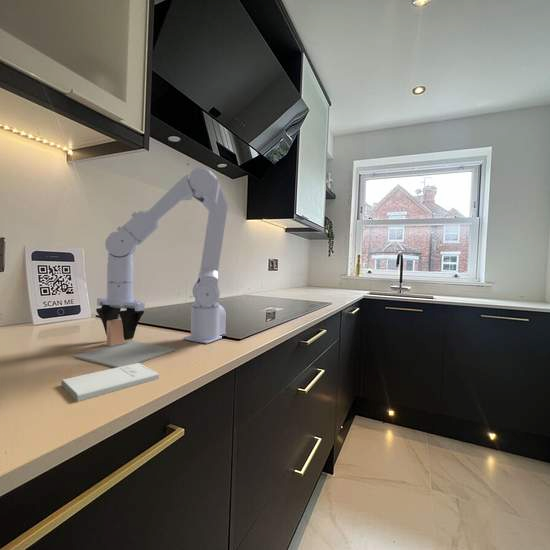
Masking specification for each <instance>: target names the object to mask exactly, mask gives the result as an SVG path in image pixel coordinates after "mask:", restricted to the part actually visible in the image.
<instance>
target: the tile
mask: <svg viewBox="0 0 550 550" xmlns="http://www.w3.org/2000/svg"><path fill="white" fill-rule="evenodd" d="M128 341H133V338H132V339H128V340H124V336H123V324H122V320H121V317H120V318H118V319H114V320H109V321H107V336H106V347H109V346H113V345H117V344H121V343H125V342H128Z"/></svg>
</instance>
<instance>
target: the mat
mask: <svg viewBox="0 0 550 550" xmlns="http://www.w3.org/2000/svg"><path fill="white" fill-rule="evenodd" d="M175 351H176V348H171V347H167V346H161V345H157V344H154V343H153V344H152V343H147V342H141V341H138V340H137V341H136V340H132V341H128V342H125V343H121V344H117V345H113V346H106V347H102V348H99V349H94V350H91V351H87V352H83V353H80V354H74V358H76V359H79V360H80V359H81V360H83V361H88V362H91V363H95V364H98V365H99V364H100V365H102V366H107V367H110V368H112V369H113V368H117V367H122V366H127V365H131V364H135V363H140V364H142V363H144V362H147V361H149V360H152V359H155V358H159V357H162V356H164V355H167V354H170V353H172V352H175Z"/></svg>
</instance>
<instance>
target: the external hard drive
mask: <svg viewBox="0 0 550 550" xmlns="http://www.w3.org/2000/svg"><path fill="white" fill-rule="evenodd" d="M159 378H160V374H159V372H157V371H155V370H153V369H151V368H150V367H147V366H145V365H144V364H142V363H135V364H131V365H127V366H122V367H117V368H113V367H112V368H108V369H105V370H99V371H96V372H95V371H94V372H92V373H91V372H90V373H86V374H81V375H77V376H73V377H69V378H64V379H61V385H60V386H62V388H64V389H65V390H66V392H67V393H69V395H70V396H71V395H72V396H71V397H72V398H73V399H74V400H75V401H76V402H81V401H82V402H83V401H86V400H89V399H93V398H97V397H99V396H102V395H107V394H109V393H114V392H116V391H119V390H125V389H127V388H130V387H134V386H137V385H142V384H144V383H148V382H152V381H154V380H159Z"/></svg>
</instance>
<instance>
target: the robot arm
mask: <svg viewBox="0 0 550 550" xmlns="http://www.w3.org/2000/svg"><path fill="white" fill-rule="evenodd" d="M193 198H194V199H195V200H197V201H199V202H200V203H201V204H202V205H203V206H204V207H205V208H206V210H207V211H208V216H207V223H206V228H205V229H206V230H205V235H204V236H205V237H204V243H203V248H202V255H201V260H200V261H201V262H200V268H199V273H198V277H197V281H196V282H195V284H194V285H193V287H192V295H193V297H194V299H195V300H194V301H193V302H192V303H191V309H190V310H191V314H190V317H191V318H190V320H191V321H190V335H188V336H184V337H183V340H184V341H191V342H196V343H201V344H202V343H203V344H210V343H212V342H213V343H214V342H216V341H219V340H221V339H223V338H222V336H220V335H222V334H226V321H227V319H226V318H227V313H226V310H225V308H224V307H223V306H222V305H221V304H220V303H219V302H218V301H219V299H220V294H221V293H220V289H219V285H218V284H219V267H220V260H221V254H222V247H223V239H224V234H225V228H226V221H227V215H228V214H227V213H228V205H229V204H228V203H227V200H226V196H225V195H224V192H223V190H222V188H221V185H220V180H219V178H218V177H217V176H216V175H215V173H213V171H211V170H210V169H209V168H208V167H204V166H198V167H196V168H194V169H193V170H192V171H190V173H188V174H185V175H184V176H183V177H182V178H180V180H179V181H178V182H176V183H175V184H174V185H172V187H171V188H170V189H169V190H168V191H166V193H165V194H164V195H163V196H162V197H161V198H159V200H158V201H157V202H155V203H154V204H153V206H151V208H149V209H148V210H139V211H138V212H136V211H134V212H133V213H132V214H131V215H130V216H131V218H130V219H129V220H128V221H127V222H126V223H124V224H123V226H118V227H117V228H116V230H117V231H112V232H110V233H109V235H108V236H107V237H106V239H105V248H106V250H107V252H108V253H107V265H106V266H107V267H106V268H107V269H106V275H107V276H106V283H107V284H106V297H105V296H103V297H97V299H96V305H97V306H98V308H96V309H95V312H96V313H97V315H98V316H99V318H100V320H101V322H102V325H103V329H104V331H105V335H106V337H107V321H109V320H114V319H119V316H120V318H121V320H122V324H123V336H124V340H128V339H132V340H133V339H134V337H135V334H136V330H137V327H138V324H139V322H140V320H141V318H142V317H143V315H144V313H145V307H146V303H145V302H144V301H140V300H136V299H134V262H133V261H134V253H135V252H136V249H137V246H139V245H141V244H142V243H143V242H145V241H146V240H147V239H148V238H149V237H150V236H151V235H152V234H153V233H154V232H156V230H158V228H159V220H161V218H163V217H164V216H165V215H167V213H169V212H170V211H171V210H173V208H175V207H176V206H177V205H178V204H179V203H180V202H182V201H191V200H192V199H193ZM99 307H100V308H99ZM122 309H124V310H122Z"/></svg>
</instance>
